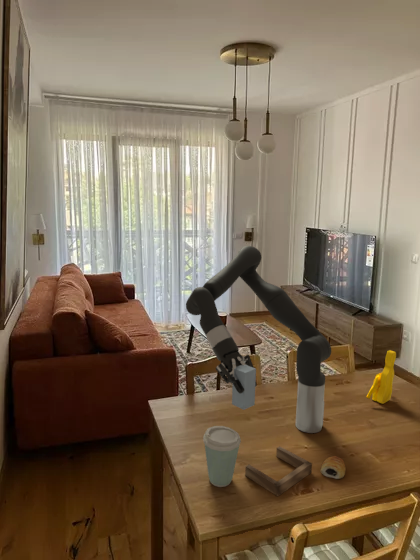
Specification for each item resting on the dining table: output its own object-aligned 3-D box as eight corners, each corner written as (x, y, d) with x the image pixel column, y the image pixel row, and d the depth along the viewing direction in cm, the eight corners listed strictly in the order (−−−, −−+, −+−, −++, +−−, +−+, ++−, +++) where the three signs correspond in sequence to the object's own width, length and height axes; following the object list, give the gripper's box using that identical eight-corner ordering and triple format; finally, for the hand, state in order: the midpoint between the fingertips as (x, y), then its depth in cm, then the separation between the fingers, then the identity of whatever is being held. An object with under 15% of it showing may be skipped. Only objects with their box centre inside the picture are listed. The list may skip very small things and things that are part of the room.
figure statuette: (382, 391, 183) (387, 342, 179) (400, 398, 177) (406, 347, 174) (361, 403, 172) (365, 351, 168) (379, 410, 166) (384, 357, 162)
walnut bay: (279, 454, 135) (279, 446, 135) (311, 472, 126) (312, 463, 126) (245, 475, 124) (245, 466, 124) (277, 496, 116) (278, 486, 115)
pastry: (326, 459, 134) (327, 448, 133) (348, 465, 131) (349, 454, 130) (319, 475, 125) (320, 463, 125) (342, 482, 122) (343, 470, 122)
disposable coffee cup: (228, 465, 129) (229, 420, 126) (246, 487, 119) (248, 438, 117) (196, 474, 124) (197, 427, 122) (212, 497, 115) (213, 446, 112)
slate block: (242, 399, 137) (244, 364, 135) (254, 404, 133) (256, 368, 131) (231, 404, 133) (233, 367, 131) (243, 409, 130) (245, 372, 128)
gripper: (231, 344, 145) (256, 388, 138) (199, 353, 135) (225, 401, 128) (243, 332, 140) (270, 378, 133) (211, 341, 130) (239, 391, 124)
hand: (248, 389), depth 131 cm, fingers closed on slate block, 5 cm apart
